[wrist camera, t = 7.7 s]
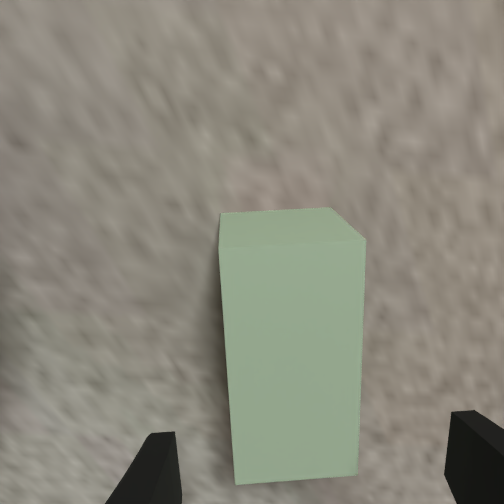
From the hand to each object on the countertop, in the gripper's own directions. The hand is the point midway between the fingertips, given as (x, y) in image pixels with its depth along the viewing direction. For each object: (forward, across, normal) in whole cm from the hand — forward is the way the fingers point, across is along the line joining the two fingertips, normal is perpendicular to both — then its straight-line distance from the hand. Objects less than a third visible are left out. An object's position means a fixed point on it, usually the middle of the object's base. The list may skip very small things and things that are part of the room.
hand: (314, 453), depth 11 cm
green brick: (+8, 0, 0) cm, 9 cm away
